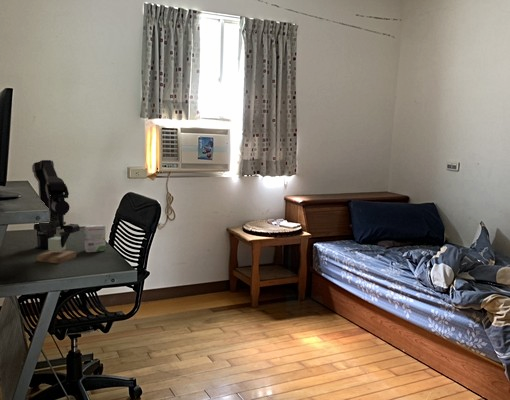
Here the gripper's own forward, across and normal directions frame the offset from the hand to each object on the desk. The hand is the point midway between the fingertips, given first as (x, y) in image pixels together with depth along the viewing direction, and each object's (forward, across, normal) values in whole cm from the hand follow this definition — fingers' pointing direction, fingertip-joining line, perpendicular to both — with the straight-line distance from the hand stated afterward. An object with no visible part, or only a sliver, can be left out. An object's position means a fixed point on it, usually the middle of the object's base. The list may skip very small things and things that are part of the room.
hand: (57, 246), depth 209 cm
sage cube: (+1, 0, 0) cm, 1 cm away
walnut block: (+6, 0, 0) cm, 6 cm away
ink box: (+6, +7, +18) cm, 20 cm away
